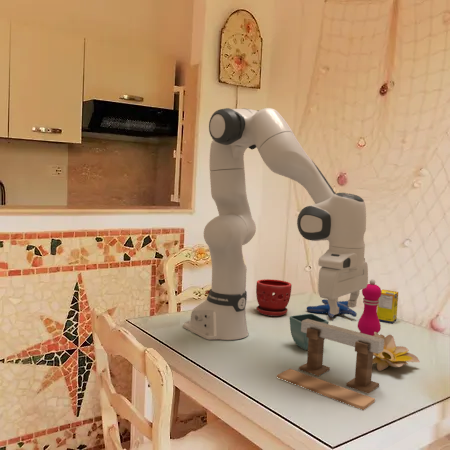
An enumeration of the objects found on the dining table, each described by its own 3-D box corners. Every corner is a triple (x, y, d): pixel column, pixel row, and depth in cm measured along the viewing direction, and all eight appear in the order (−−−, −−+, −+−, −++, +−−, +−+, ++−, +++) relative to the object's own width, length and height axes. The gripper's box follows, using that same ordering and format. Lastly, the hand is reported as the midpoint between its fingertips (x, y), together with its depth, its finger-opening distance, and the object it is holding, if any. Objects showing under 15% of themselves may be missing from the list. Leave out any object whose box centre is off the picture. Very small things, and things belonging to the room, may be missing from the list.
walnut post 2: (346, 386, 124) (349, 340, 123) (357, 379, 129) (360, 335, 128) (368, 393, 121) (372, 347, 119) (378, 386, 125) (382, 341, 124)
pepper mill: (380, 344, 157) (385, 282, 154) (357, 342, 158) (361, 280, 156) (378, 337, 164) (383, 278, 161) (355, 335, 165) (360, 276, 163)
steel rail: (301, 331, 134) (301, 320, 134) (306, 329, 137) (307, 318, 136) (378, 353, 120) (379, 341, 120) (383, 350, 122) (384, 339, 122)
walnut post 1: (298, 369, 134) (301, 327, 132) (310, 363, 138) (313, 322, 137) (318, 376, 130) (321, 332, 128) (329, 370, 134) (332, 327, 133)
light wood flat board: (276, 377, 128) (276, 374, 127) (289, 371, 132) (289, 368, 132) (363, 410, 112) (363, 406, 112) (374, 401, 116) (375, 398, 116)
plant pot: (291, 318, 180) (293, 286, 179) (255, 317, 181) (257, 285, 179) (287, 309, 193) (289, 278, 192) (254, 307, 194) (255, 277, 192)
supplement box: (396, 320, 185) (398, 291, 183) (392, 324, 179) (394, 294, 178) (380, 317, 188) (382, 288, 186) (376, 320, 183) (378, 291, 181)
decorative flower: (391, 375, 128) (389, 336, 129) (357, 370, 137) (355, 334, 138) (425, 368, 136) (422, 331, 138) (391, 364, 146) (388, 330, 147)
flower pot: (304, 353, 146) (305, 324, 145) (287, 344, 153) (288, 315, 152) (327, 350, 150) (329, 321, 149) (309, 340, 158) (311, 313, 157)
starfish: (305, 305, 200) (306, 293, 199) (353, 309, 197) (353, 297, 197) (306, 319, 181) (307, 305, 181) (359, 323, 179) (360, 310, 178)
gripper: (353, 251, 136) (351, 301, 137) (314, 259, 120) (312, 315, 122) (375, 254, 132) (372, 305, 133) (338, 263, 116) (335, 320, 118)
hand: (343, 310), depth 127 cm, fingers open, 8 cm apart
